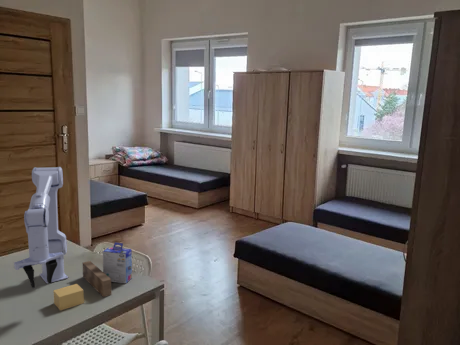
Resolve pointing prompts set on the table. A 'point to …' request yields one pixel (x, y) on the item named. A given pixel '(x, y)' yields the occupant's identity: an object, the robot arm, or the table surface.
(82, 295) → the ochre block
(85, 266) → the walnut block
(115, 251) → the ink cartridge box
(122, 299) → the table surface
